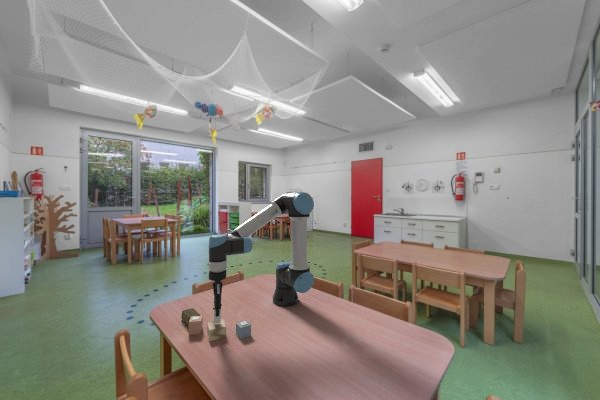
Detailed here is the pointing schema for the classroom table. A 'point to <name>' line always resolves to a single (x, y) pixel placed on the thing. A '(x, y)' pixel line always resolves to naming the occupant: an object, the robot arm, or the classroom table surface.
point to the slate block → (243, 329)
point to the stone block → (189, 315)
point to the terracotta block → (195, 325)
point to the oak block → (216, 330)
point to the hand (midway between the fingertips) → (217, 322)
